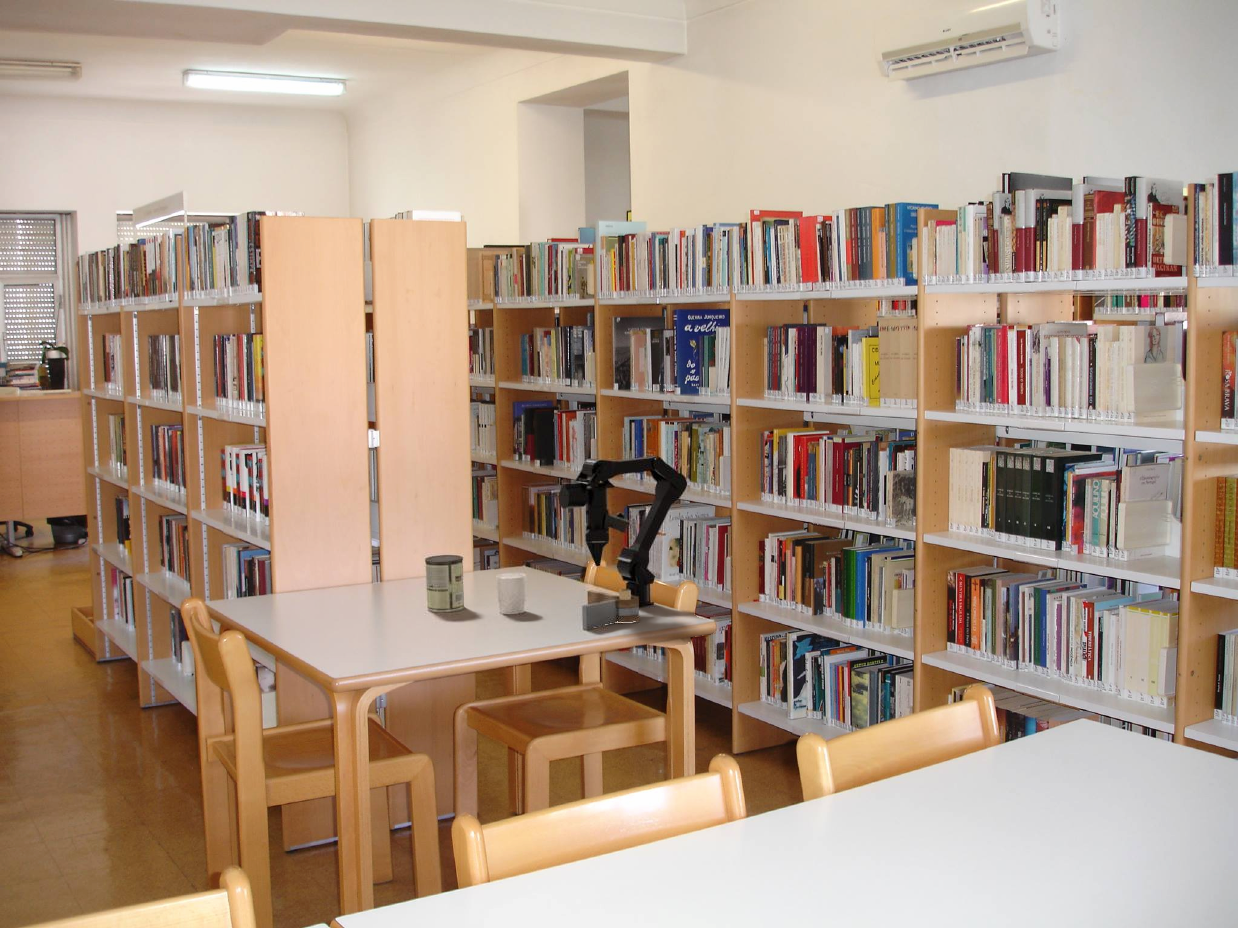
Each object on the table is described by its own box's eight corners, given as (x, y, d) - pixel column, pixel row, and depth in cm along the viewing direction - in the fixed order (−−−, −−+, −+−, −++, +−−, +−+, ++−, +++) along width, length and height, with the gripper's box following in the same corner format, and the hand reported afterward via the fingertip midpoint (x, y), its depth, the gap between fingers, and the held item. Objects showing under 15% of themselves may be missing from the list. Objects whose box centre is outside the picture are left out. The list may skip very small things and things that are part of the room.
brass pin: (625, 618, 309) (625, 588, 308) (633, 620, 307) (633, 590, 306) (617, 620, 307) (616, 590, 306) (625, 622, 305) (624, 591, 304)
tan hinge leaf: (644, 620, 307) (643, 597, 306) (624, 624, 302) (624, 601, 301) (599, 610, 319) (599, 588, 319) (580, 614, 315) (579, 592, 314)
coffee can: (431, 604, 331) (430, 554, 330) (468, 604, 330) (466, 554, 328) (422, 612, 321) (420, 561, 319) (459, 612, 320) (458, 561, 318)
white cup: (500, 616, 315) (499, 579, 314) (495, 610, 322) (494, 573, 321) (529, 613, 317) (528, 577, 316) (523, 607, 324) (522, 572, 323)
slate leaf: (626, 616, 312) (625, 593, 311) (644, 620, 307) (643, 597, 306) (575, 627, 300) (575, 604, 299) (593, 631, 295) (593, 608, 294)
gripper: (627, 509, 308) (628, 568, 309) (626, 500, 326) (627, 556, 328) (584, 510, 308) (586, 569, 309) (585, 501, 326) (587, 557, 328)
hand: (598, 562), depth 318 cm, fingers open, 9 cm apart
